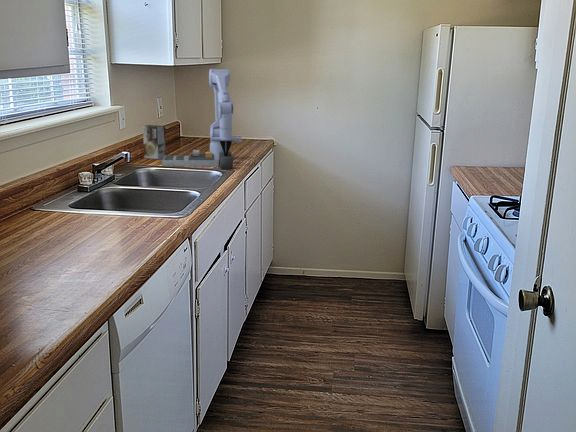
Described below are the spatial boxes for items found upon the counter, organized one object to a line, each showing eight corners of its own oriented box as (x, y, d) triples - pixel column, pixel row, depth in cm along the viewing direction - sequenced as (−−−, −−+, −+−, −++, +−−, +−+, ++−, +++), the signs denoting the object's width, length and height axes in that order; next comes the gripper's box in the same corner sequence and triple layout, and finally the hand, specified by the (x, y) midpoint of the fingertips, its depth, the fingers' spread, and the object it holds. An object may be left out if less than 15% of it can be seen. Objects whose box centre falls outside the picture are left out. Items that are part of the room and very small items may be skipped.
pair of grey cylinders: (231, 161, 286) (231, 151, 285) (233, 169, 266) (233, 158, 265) (219, 161, 286) (219, 151, 284) (220, 169, 265) (220, 158, 264)
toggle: (212, 158, 276) (212, 151, 275) (212, 159, 272) (212, 153, 272) (205, 158, 276) (205, 151, 275) (205, 159, 272) (205, 153, 271)
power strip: (218, 161, 285) (218, 149, 283) (218, 166, 272) (218, 153, 271) (164, 161, 281) (163, 149, 279) (162, 166, 269) (161, 153, 267)
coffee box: (166, 157, 293) (165, 125, 289) (158, 159, 287) (157, 126, 283) (151, 156, 296) (150, 124, 292) (143, 157, 291) (142, 125, 287)
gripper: (210, 128, 267) (210, 158, 270) (241, 129, 269) (241, 158, 272) (210, 127, 273) (210, 155, 277) (240, 127, 275) (240, 156, 279)
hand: (225, 157), depth 275 cm, fingers closed
